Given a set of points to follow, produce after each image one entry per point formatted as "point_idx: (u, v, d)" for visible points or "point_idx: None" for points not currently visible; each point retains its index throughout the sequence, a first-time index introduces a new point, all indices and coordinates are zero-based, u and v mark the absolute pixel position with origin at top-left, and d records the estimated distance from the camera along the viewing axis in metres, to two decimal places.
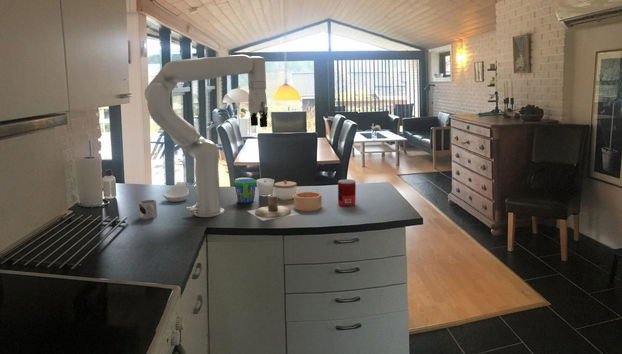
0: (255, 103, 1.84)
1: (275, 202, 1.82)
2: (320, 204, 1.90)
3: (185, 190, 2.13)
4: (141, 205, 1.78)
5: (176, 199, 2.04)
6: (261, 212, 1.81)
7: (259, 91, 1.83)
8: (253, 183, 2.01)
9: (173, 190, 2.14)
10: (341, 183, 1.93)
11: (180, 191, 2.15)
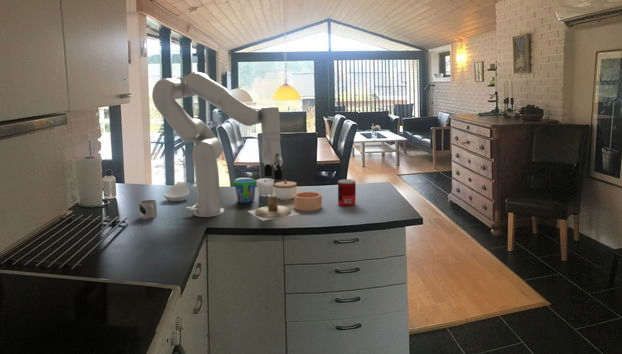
0: (269, 155, 1.75)
1: (275, 202, 1.82)
2: (320, 204, 1.90)
3: (185, 190, 2.14)
4: (141, 205, 1.78)
5: (176, 199, 2.05)
6: (261, 212, 1.81)
7: (273, 143, 1.74)
8: (253, 183, 2.01)
9: (173, 190, 2.14)
10: (341, 183, 1.93)
11: (180, 191, 2.15)
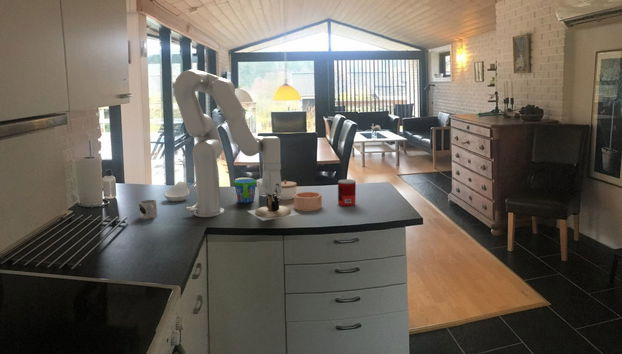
0: (269, 185, 1.77)
1: None
2: (320, 204, 1.90)
3: (186, 190, 2.14)
4: (141, 205, 1.78)
5: (176, 199, 2.05)
6: (261, 212, 1.81)
7: (274, 173, 1.76)
8: (253, 183, 2.01)
9: (174, 190, 2.14)
10: (341, 183, 1.93)
11: (181, 191, 2.15)
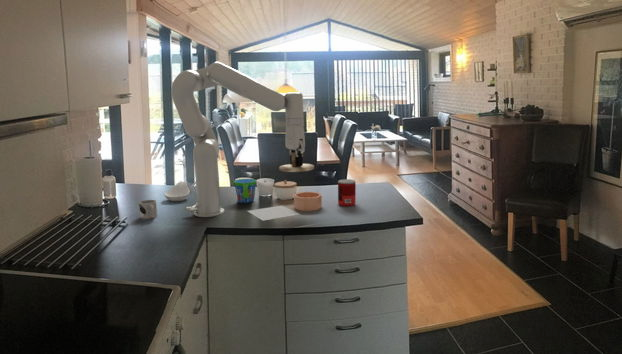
0: (293, 140, 1.79)
1: None
2: (320, 204, 1.90)
3: (186, 190, 2.14)
4: (141, 205, 1.78)
5: (176, 199, 2.05)
6: (285, 168, 1.83)
7: (297, 128, 1.78)
8: (253, 183, 2.01)
9: (174, 189, 2.15)
10: (341, 183, 1.93)
11: (181, 191, 2.15)
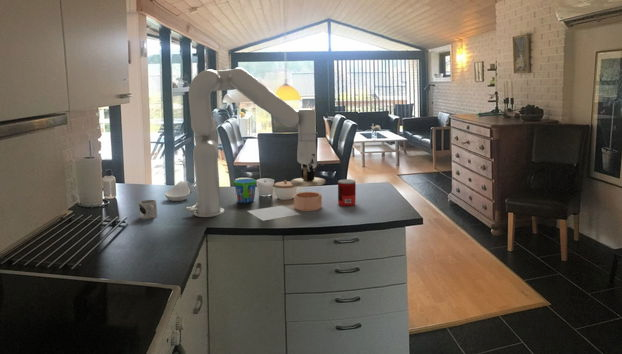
0: (305, 155, 1.84)
1: None
2: (320, 204, 1.90)
3: (186, 190, 2.14)
4: (141, 205, 1.78)
5: (177, 198, 2.06)
6: (297, 182, 1.87)
7: (310, 143, 1.82)
8: (253, 183, 2.01)
9: (175, 189, 2.15)
10: (341, 183, 1.93)
11: (182, 190, 2.16)
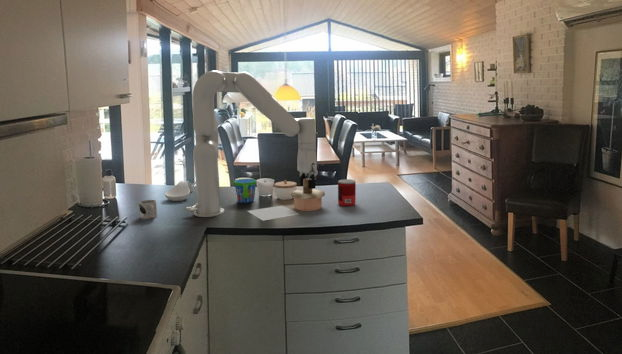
0: (305, 164, 1.84)
1: None
2: (320, 204, 1.90)
3: (187, 189, 2.15)
4: (141, 205, 1.78)
5: (176, 198, 2.06)
6: (297, 194, 1.88)
7: (310, 152, 1.83)
8: (253, 183, 2.01)
9: (175, 189, 2.16)
10: (341, 183, 1.93)
11: (182, 190, 2.16)
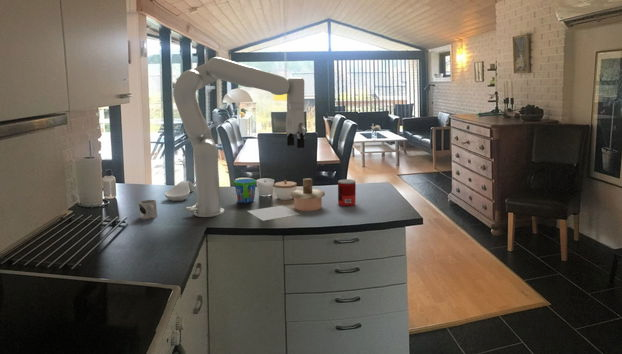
0: (293, 124, 1.84)
1: (310, 184, 1.89)
2: (320, 204, 1.90)
3: (187, 189, 2.15)
4: (141, 205, 1.78)
5: (175, 198, 2.06)
6: (297, 194, 1.88)
7: (298, 112, 1.83)
8: (253, 183, 2.01)
9: (176, 189, 2.16)
10: (341, 183, 1.93)
11: (182, 190, 2.16)
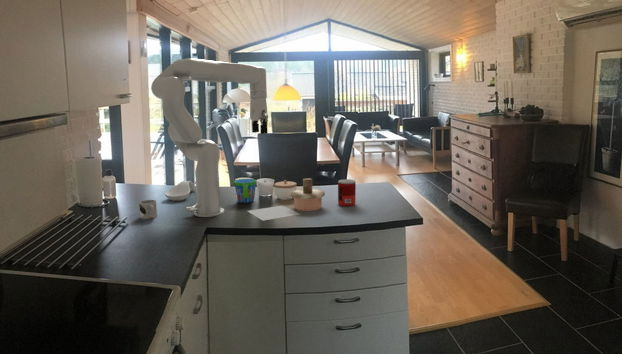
0: (256, 111, 1.94)
1: (310, 184, 1.89)
2: (320, 204, 1.90)
3: (187, 189, 2.15)
4: (141, 205, 1.78)
5: (175, 198, 2.06)
6: (297, 194, 1.88)
7: (260, 100, 1.93)
8: (253, 183, 2.01)
9: (176, 189, 2.17)
10: (341, 183, 1.93)
11: (183, 190, 2.17)
